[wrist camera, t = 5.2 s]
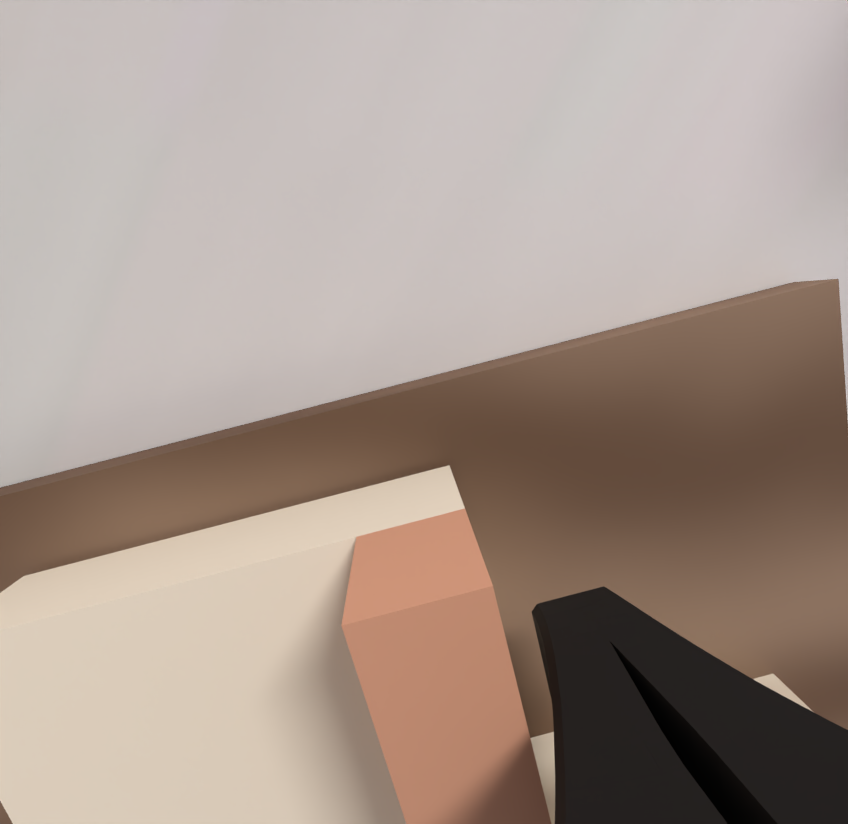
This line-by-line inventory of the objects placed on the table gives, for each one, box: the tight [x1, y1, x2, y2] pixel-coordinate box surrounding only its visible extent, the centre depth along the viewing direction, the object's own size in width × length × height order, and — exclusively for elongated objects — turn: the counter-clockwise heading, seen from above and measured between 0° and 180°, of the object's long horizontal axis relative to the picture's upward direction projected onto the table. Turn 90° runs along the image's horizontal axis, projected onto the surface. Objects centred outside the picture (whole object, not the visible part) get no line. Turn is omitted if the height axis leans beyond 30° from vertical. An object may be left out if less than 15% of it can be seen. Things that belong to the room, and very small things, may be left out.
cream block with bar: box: [0, 465, 551, 824], centre depth 8 cm, size 6×8×4 cm
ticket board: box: [0, 279, 848, 824], centre depth 10 cm, size 16×20×3 cm
